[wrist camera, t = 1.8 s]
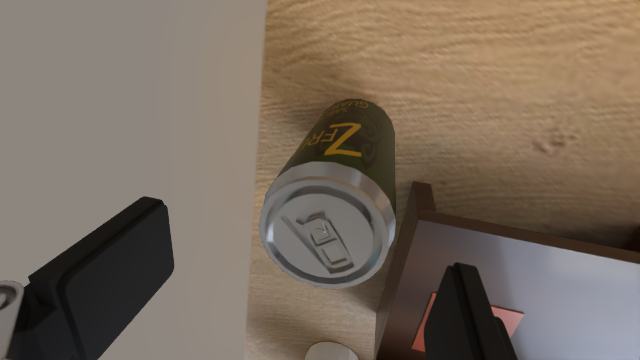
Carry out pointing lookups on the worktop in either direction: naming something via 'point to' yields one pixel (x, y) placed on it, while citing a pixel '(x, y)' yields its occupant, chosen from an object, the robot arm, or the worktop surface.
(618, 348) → the shelf
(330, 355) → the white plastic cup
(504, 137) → the worktop surface
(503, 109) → the worktop surface
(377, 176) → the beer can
